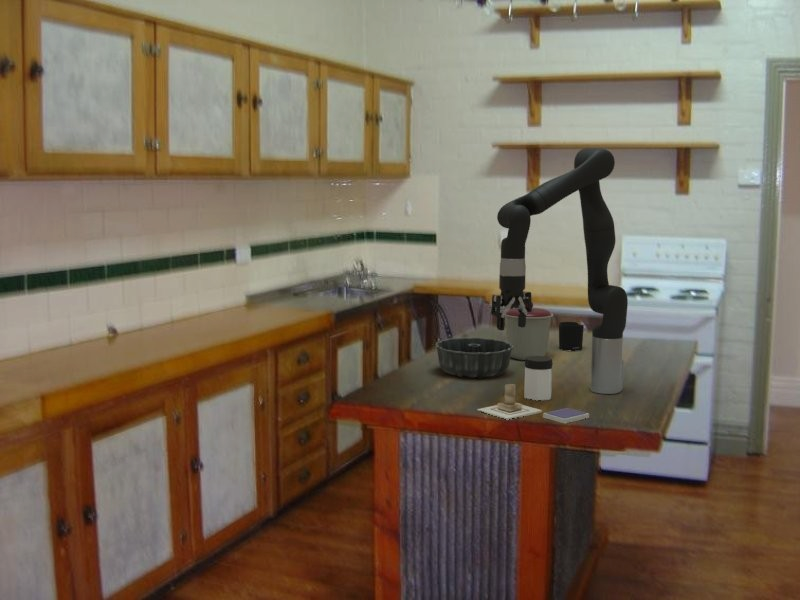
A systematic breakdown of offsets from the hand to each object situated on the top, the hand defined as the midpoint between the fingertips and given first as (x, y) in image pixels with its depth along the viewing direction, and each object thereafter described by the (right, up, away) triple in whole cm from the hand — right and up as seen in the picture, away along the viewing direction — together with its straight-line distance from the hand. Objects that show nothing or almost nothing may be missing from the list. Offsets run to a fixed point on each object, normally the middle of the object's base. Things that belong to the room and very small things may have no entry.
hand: (511, 328), depth 272 cm
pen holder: (+33, -11, +86) cm, 93 cm away
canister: (+14, -13, +68) cm, 71 cm away
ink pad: (+14, -24, -14) cm, 31 cm away
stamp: (-1, -23, -8) cm, 24 cm away
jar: (+9, -21, +9) cm, 25 cm away
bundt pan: (-8, -17, +43) cm, 47 cm away
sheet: (-1, -23, -8) cm, 25 cm away
